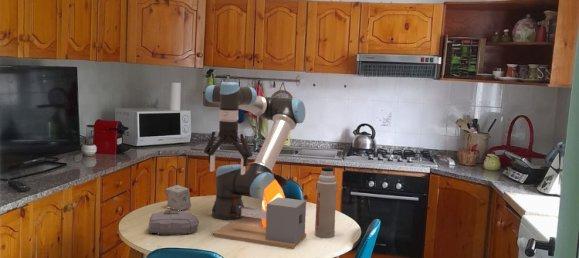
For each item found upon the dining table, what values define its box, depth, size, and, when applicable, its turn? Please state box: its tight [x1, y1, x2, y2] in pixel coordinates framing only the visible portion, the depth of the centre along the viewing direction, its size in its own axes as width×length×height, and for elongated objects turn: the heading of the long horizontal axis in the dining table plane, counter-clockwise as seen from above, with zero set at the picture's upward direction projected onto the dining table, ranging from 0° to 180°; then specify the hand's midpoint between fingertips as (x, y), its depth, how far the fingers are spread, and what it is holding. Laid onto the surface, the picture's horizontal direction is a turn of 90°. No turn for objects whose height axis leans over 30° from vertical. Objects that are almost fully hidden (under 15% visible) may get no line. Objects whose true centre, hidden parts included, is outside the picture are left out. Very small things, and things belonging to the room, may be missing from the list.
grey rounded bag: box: [148, 209, 200, 235], centre depth 217 cm, size 15×8×20 cm
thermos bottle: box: [314, 166, 338, 239], centre depth 217 cm, size 8×8×28 cm
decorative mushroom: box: [273, 174, 288, 187], centre depth 263 cm, size 11×11×15 cm
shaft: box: [235, 204, 266, 220], centre depth 212 cm, size 18×5×5 cm, turn 70°
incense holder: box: [164, 184, 192, 211], centre depth 249 cm, size 10×8×10 cm
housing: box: [212, 197, 307, 250], centre depth 212 cm, size 34×16×16 cm, turn 70°
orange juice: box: [261, 180, 286, 227], centre depth 223 cm, size 8×9×20 cm
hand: (227, 172), depth 216 cm, fingers open, 13 cm apart
